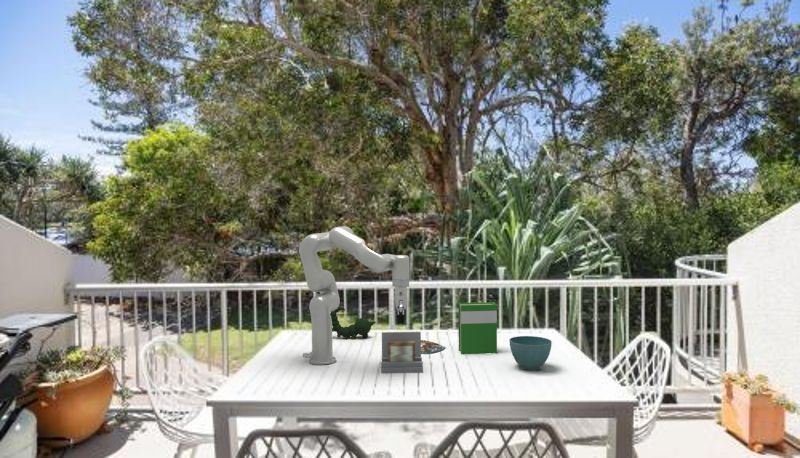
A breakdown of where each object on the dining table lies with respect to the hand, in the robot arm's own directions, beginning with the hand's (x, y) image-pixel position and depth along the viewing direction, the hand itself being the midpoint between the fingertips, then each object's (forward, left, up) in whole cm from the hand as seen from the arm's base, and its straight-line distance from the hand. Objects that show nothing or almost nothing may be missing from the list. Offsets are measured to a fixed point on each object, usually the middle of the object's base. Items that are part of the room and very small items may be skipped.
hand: (400, 321), depth 244 cm
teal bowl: (+57, -1, -21) cm, 61 cm away
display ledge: (0, +3, -21) cm, 21 cm away
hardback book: (+38, +28, -21) cm, 52 cm away
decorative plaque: (+8, +39, -22) cm, 45 cm away
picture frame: (0, 0, -19) cm, 19 cm away
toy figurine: (-26, +62, -21) cm, 70 cm away
